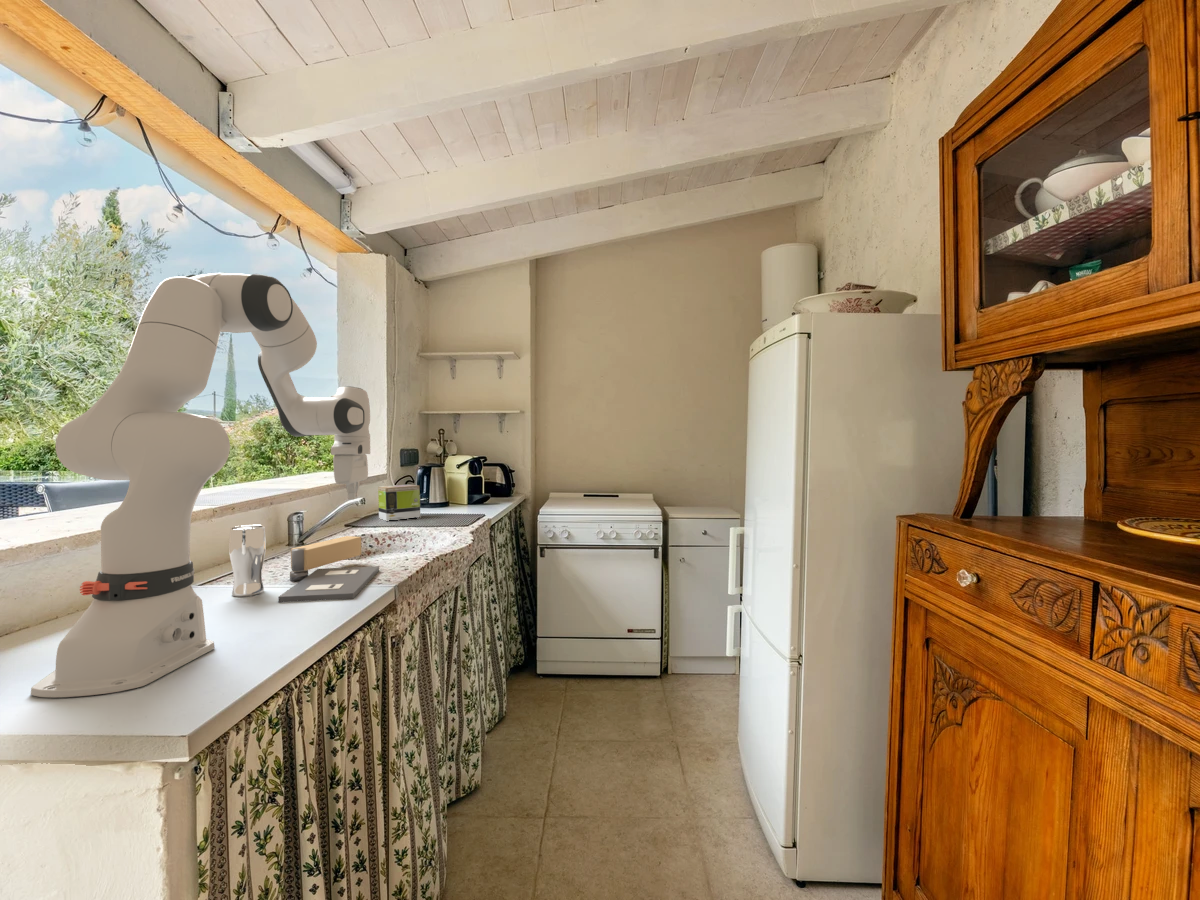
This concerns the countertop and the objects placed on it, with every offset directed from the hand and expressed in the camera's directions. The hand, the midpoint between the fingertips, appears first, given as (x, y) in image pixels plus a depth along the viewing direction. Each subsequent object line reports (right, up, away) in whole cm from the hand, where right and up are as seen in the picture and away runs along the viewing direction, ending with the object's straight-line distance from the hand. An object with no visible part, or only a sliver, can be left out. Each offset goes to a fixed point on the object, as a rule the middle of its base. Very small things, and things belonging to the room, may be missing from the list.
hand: (352, 499), depth 149 cm
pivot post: (-8, -19, -12) cm, 24 cm away
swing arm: (-5, -16, -4) cm, 17 cm away
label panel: (+3, -19, -17) cm, 26 cm away
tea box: (-21, -17, +92) cm, 96 cm away
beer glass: (-13, -19, -24) cm, 33 cm away
